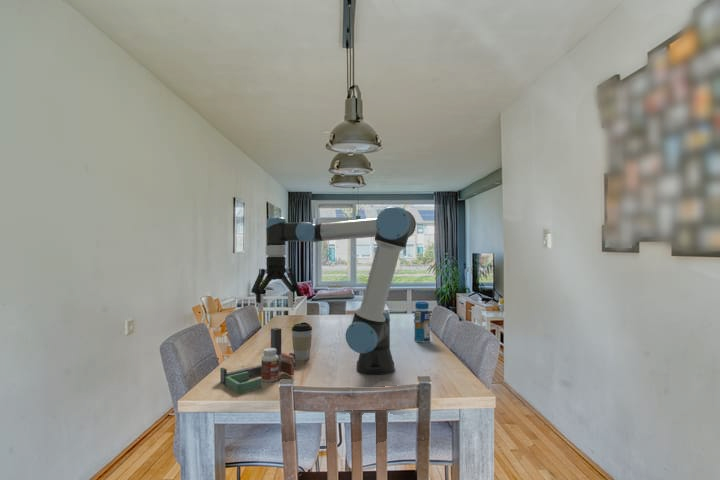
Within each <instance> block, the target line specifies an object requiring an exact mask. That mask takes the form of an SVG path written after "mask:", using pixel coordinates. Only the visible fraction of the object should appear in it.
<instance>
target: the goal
mask: <svg viewBox="0 0 720 480" xmlns="http://www.w3.org/2000/svg"><path fill="white" fill-rule="evenodd" d="M249 378H250V377H249V372H243V373H239V374H235V375H230V376H226V377H225V384H224V386H226V388H229V389H230V390H232V391H234V392H235V393H236V394H238V395H239V394H242V393H247V392H250V391H253V390H258V389H261V388H263V381H262V379H261V378H255V379H253V380H252V379H251V380H249Z"/></svg>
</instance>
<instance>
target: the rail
mask: <svg viewBox="0 0 720 480" xmlns="http://www.w3.org/2000/svg"><path fill="white" fill-rule="evenodd" d="M288 354H289V355H291V356H294V360H295V361H296V359H295V354H294V352H289V353H288ZM295 367H296V362H295V363H294V368H295ZM280 370H281V362H279V371H280ZM243 372H249V378H252V377H257V376H261V372H262V364H259V365H255V366H249V367H246V368H242V369H237V370H233V371H228V372H227V368H225V367H220V376H219V377H220V383H222V385H225V377H226V376H230V375H235V374H239V373H243Z"/></svg>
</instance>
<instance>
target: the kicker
mask: <svg viewBox="0 0 720 480" xmlns="http://www.w3.org/2000/svg"><path fill="white" fill-rule="evenodd" d="M270 348H276V350H277V352H276V355H278V358H279V362H281V372H282V373H284V374H285V375H289V376H290V377H291V376H292V377H293V376H295V367H294V363H295V364H296V359H295V360H294V356H291V355H289V353H286V352H283V351H282V328H280V327H273V328H270Z"/></svg>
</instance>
